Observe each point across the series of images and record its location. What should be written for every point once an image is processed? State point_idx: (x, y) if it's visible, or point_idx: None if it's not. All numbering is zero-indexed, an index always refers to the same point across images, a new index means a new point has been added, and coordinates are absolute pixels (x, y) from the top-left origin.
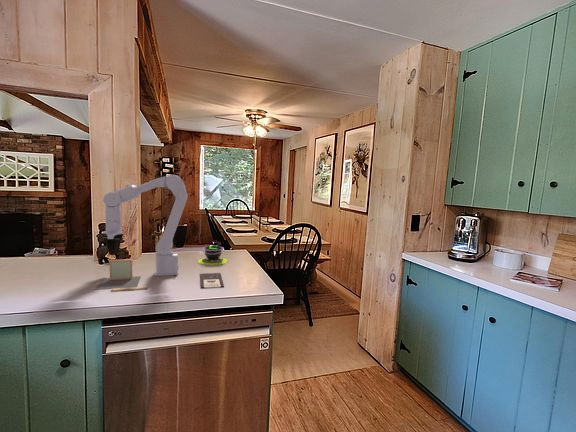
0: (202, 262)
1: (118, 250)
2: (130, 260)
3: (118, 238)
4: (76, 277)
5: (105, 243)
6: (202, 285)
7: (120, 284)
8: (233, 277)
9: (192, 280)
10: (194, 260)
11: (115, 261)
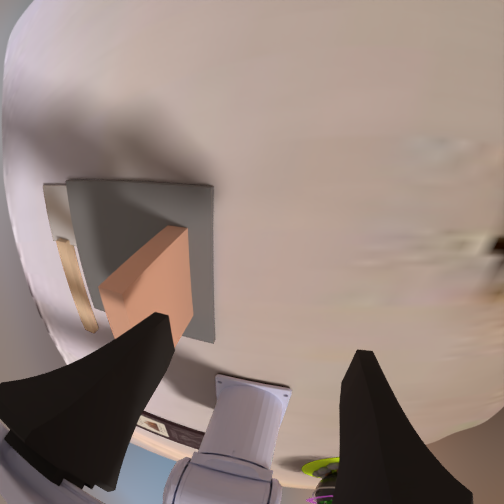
0: (338, 460)
1: (341, 385)
2: None
3: (100, 487)
4: (301, 31)
5: (38, 376)
6: None
7: (114, 267)
8: (188, 450)
9: (169, 413)
10: None
11: (111, 313)
